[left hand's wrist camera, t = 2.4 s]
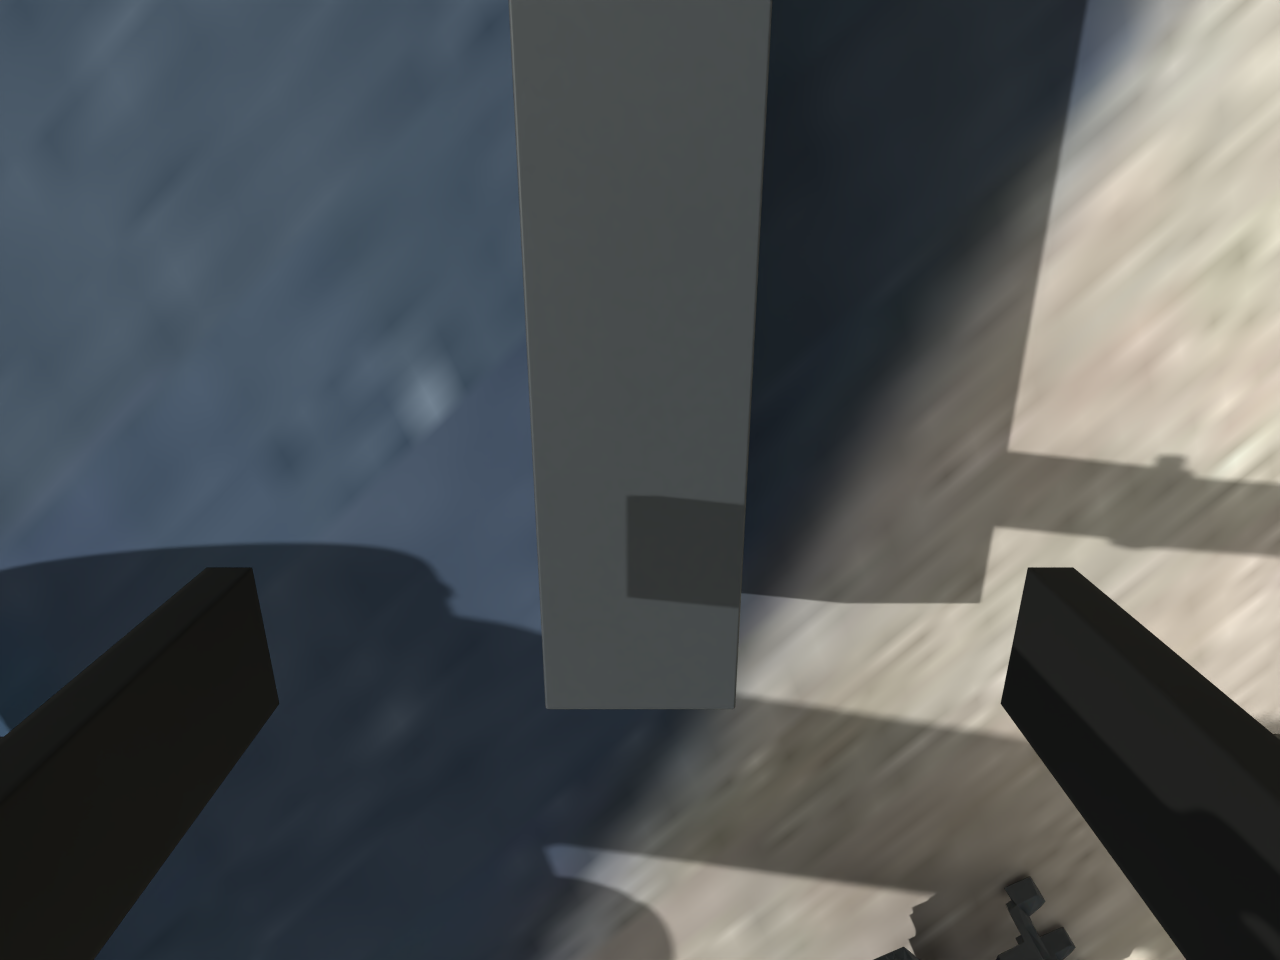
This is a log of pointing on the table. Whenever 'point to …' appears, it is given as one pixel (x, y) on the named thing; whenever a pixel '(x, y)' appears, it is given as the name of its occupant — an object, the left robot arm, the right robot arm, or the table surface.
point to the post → (640, 335)
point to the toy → (1020, 930)
